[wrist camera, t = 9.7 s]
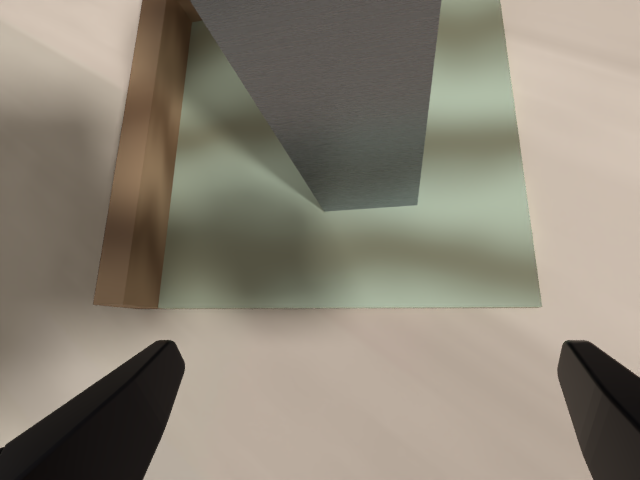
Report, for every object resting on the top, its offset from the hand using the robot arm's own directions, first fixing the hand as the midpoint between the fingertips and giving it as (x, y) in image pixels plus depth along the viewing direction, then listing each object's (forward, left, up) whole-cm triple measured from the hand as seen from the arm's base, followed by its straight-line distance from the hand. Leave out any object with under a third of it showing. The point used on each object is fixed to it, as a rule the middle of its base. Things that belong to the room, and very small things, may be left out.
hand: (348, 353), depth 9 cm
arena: (+2, +12, -9) cm, 15 cm away
